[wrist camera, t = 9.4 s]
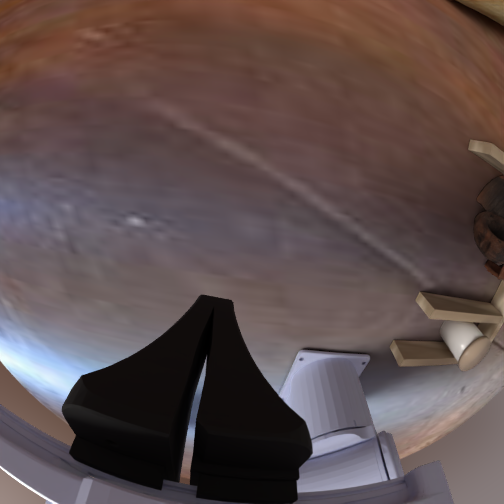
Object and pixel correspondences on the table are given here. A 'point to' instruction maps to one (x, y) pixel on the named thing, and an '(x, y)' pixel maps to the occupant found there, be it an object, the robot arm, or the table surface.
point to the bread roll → (487, 8)
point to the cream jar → (465, 342)
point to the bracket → (455, 301)
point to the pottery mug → (491, 226)
